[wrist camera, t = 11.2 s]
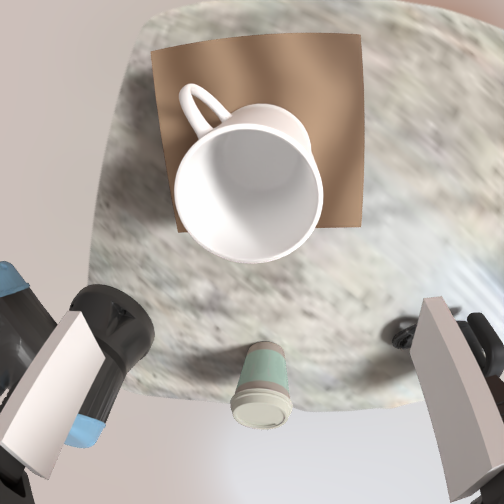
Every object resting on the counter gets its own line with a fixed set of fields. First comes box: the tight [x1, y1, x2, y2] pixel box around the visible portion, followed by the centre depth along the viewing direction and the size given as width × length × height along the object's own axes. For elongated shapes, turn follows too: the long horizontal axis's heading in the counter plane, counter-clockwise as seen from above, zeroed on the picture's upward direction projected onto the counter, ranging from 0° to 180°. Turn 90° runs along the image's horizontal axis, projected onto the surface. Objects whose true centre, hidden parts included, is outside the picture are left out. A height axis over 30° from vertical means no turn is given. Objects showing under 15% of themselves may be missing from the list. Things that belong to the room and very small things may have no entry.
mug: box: [174, 84, 323, 263], centre depth 21 cm, size 12×8×12 cm
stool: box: [151, 33, 364, 233], centre depth 30 cm, size 18×18×7 cm
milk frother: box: [392, 313, 504, 378], centre depth 39 cm, size 14×16×15 cm
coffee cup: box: [230, 342, 293, 429], centre depth 44 cm, size 8×8×12 cm
